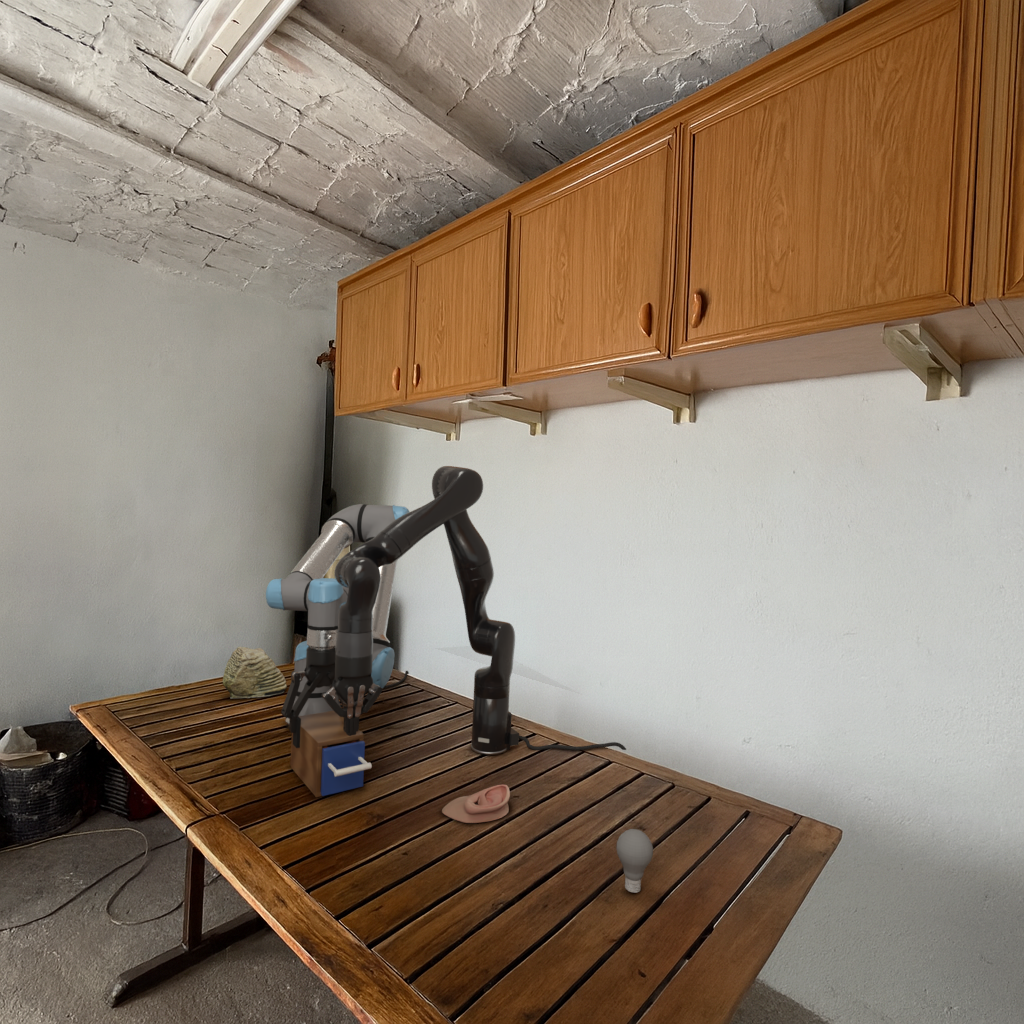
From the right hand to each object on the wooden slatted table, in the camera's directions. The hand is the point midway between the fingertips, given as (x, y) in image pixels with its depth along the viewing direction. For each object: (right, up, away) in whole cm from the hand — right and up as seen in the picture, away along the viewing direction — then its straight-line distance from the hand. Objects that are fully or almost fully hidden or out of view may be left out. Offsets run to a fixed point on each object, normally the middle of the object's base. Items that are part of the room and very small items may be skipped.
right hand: (351, 734), depth 132 cm
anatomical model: (+26, -15, -2) cm, 30 cm away
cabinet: (-9, -14, +11) cm, 20 cm away
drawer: (-6, -13, +7) cm, 16 cm away
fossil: (-47, -11, +66) cm, 82 cm away
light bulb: (+54, -17, -26) cm, 62 cm away
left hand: (-11, -7, +15) cm, 19 cm away
